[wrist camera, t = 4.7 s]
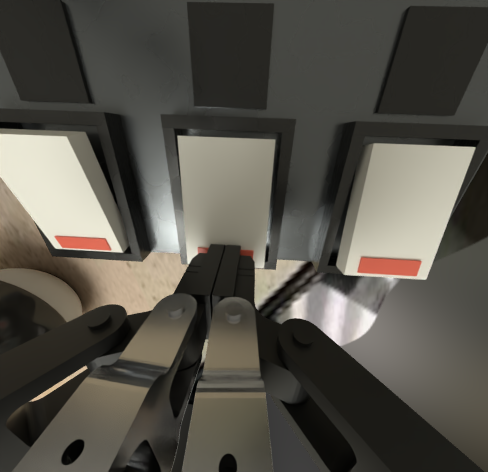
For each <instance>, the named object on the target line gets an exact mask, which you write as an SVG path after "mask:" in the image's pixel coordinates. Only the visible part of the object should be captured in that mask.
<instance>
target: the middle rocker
mask: <svg viewBox="0 0 488 472" xmlns="http://www.w3.org/2000/svg"><path fill="white" fill-rule="evenodd" d="M177 137H178V149H179V162H180V174H181V187H182V200H183V212H184V225H185V237H186V250H187V262H188V264H190V262H191V260H192V258H194V257H195V256H196V255H197V254H199V253H207V251H208V249H209V247H210V244H223V245H241V255H244V256H251V257H252V259H253V260H254V262H255V268H264V262H265V251H266V240H267V229H268V218H269V207H270V196H271V184H272V173H273V162H274V151H275V139H250V138H224V137H199V136H177Z"/></svg>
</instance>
